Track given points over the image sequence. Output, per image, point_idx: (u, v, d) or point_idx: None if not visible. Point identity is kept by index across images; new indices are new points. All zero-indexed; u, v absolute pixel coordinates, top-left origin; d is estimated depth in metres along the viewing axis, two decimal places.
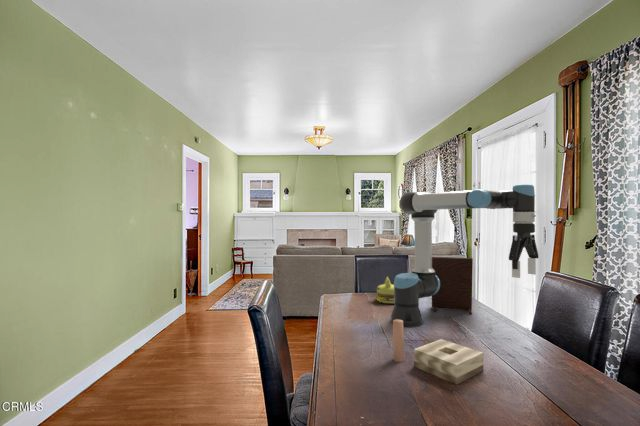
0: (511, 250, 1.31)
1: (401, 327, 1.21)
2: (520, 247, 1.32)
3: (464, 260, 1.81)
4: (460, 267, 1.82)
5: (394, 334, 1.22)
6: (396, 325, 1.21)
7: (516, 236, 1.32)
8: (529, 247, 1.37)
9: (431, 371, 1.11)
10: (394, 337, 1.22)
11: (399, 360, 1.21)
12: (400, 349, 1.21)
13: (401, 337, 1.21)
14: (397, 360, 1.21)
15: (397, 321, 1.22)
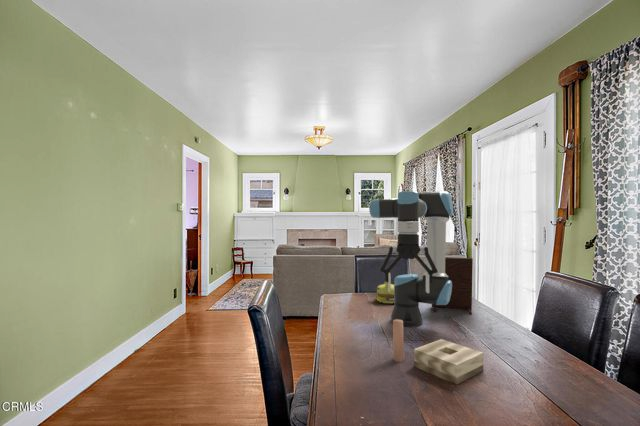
0: None
1: (401, 327, 1.21)
2: (395, 259, 1.23)
3: (464, 260, 1.81)
4: (460, 267, 1.82)
5: (394, 334, 1.22)
6: (396, 325, 1.21)
7: (389, 247, 1.24)
8: (418, 261, 1.22)
9: (431, 371, 1.11)
10: (394, 337, 1.22)
11: (399, 360, 1.21)
12: (400, 349, 1.21)
13: (401, 337, 1.21)
14: (397, 360, 1.21)
15: (397, 321, 1.22)
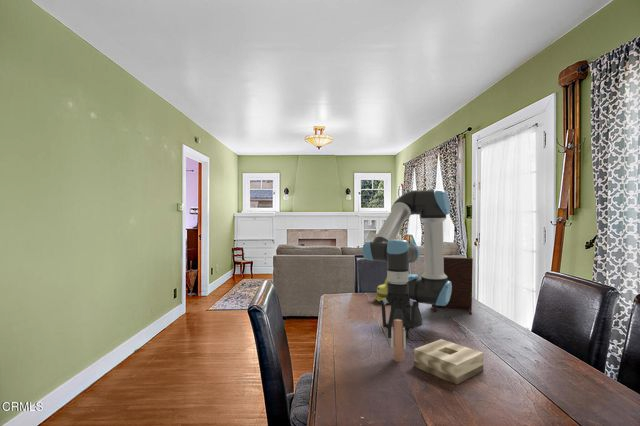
0: None
1: (401, 327, 1.21)
2: (390, 312, 1.22)
3: (464, 260, 1.81)
4: (460, 267, 1.82)
5: (394, 334, 1.22)
6: (396, 325, 1.21)
7: None
8: (402, 312, 1.22)
9: (431, 371, 1.11)
10: (394, 337, 1.22)
11: (399, 360, 1.21)
12: (400, 349, 1.21)
13: (401, 337, 1.21)
14: (397, 360, 1.21)
15: (397, 321, 1.22)
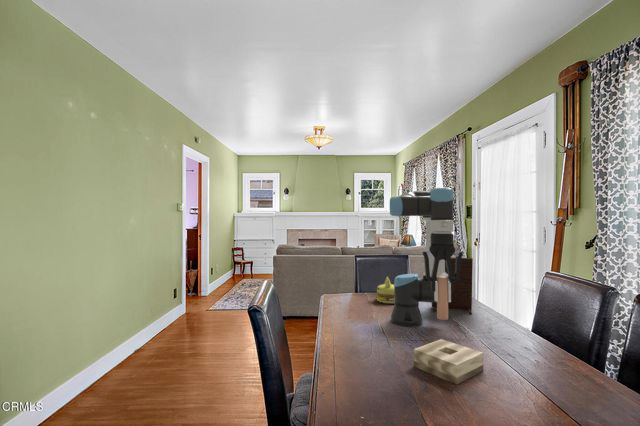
0: (425, 269, 1.18)
1: (446, 283, 1.15)
2: (434, 264, 1.16)
3: (464, 260, 1.81)
4: (460, 267, 1.82)
5: (438, 291, 1.15)
6: (441, 281, 1.15)
7: (422, 253, 1.17)
8: (446, 264, 1.15)
9: (431, 371, 1.11)
10: (438, 294, 1.15)
11: (444, 318, 1.14)
12: (445, 306, 1.14)
13: (446, 293, 1.14)
14: (442, 318, 1.14)
15: (441, 277, 1.16)
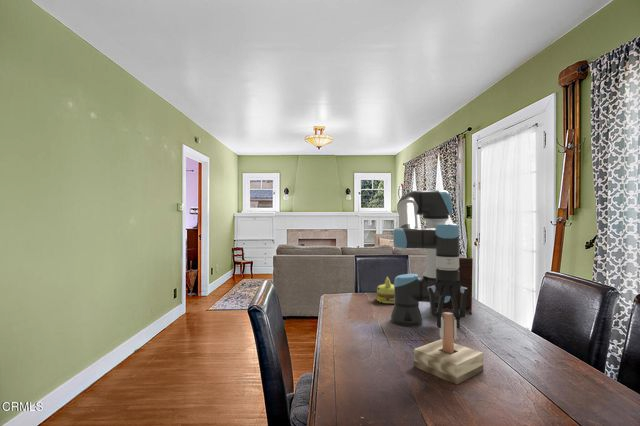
0: (430, 305, 1.17)
1: (452, 320, 1.14)
2: (440, 300, 1.15)
3: (464, 260, 1.81)
4: (460, 267, 1.82)
5: (444, 328, 1.14)
6: (446, 318, 1.14)
7: (428, 289, 1.16)
8: (452, 300, 1.15)
9: (431, 371, 1.11)
10: (444, 331, 1.14)
11: None
12: (451, 344, 1.13)
13: (452, 331, 1.14)
14: None
15: (447, 314, 1.15)
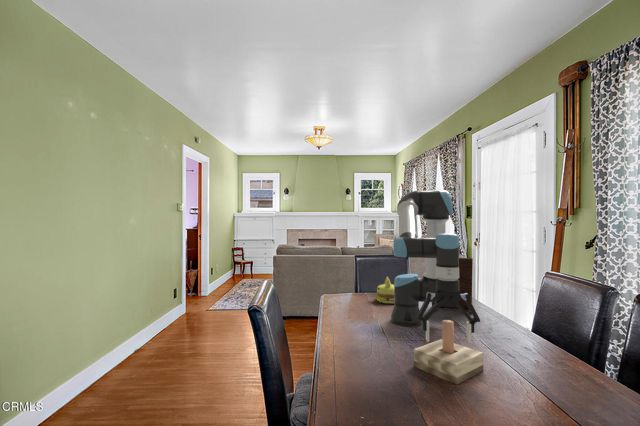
0: None
1: (452, 328, 1.14)
2: (433, 307, 1.15)
3: (464, 260, 1.81)
4: (460, 267, 1.82)
5: (444, 335, 1.14)
6: (447, 326, 1.14)
7: (427, 294, 1.16)
8: (459, 309, 1.14)
9: (431, 371, 1.11)
10: (444, 339, 1.14)
11: None
12: (451, 352, 1.13)
13: (452, 339, 1.14)
14: None
15: (447, 322, 1.15)
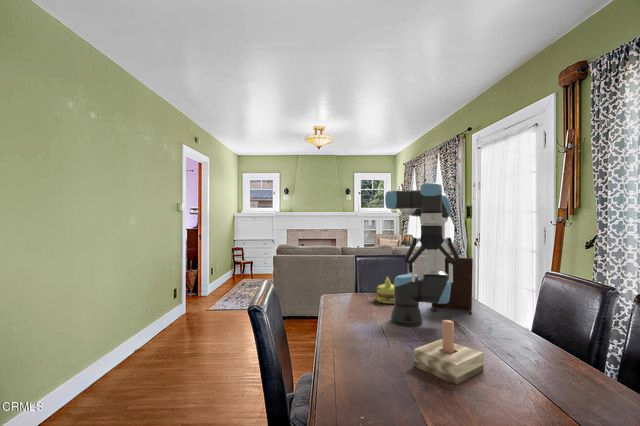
0: (407, 252, 1.28)
1: (452, 328, 1.14)
2: (419, 250, 1.26)
3: (464, 260, 1.81)
4: (460, 267, 1.82)
5: (444, 335, 1.14)
6: (447, 326, 1.14)
7: (412, 239, 1.27)
8: (441, 251, 1.25)
9: (431, 371, 1.11)
10: (444, 339, 1.14)
11: None
12: (451, 352, 1.13)
13: (452, 339, 1.14)
14: None
15: (447, 322, 1.15)
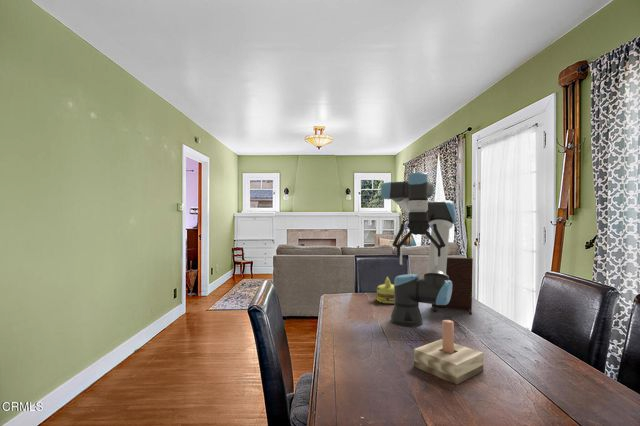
0: None
1: (452, 328, 1.14)
2: (406, 235, 1.35)
3: (464, 260, 1.81)
4: (460, 267, 1.82)
5: (444, 335, 1.14)
6: (447, 326, 1.14)
7: None
8: (427, 236, 1.34)
9: (431, 371, 1.11)
10: (444, 339, 1.14)
11: None
12: (451, 352, 1.13)
13: (452, 339, 1.14)
14: None
15: (447, 322, 1.15)
